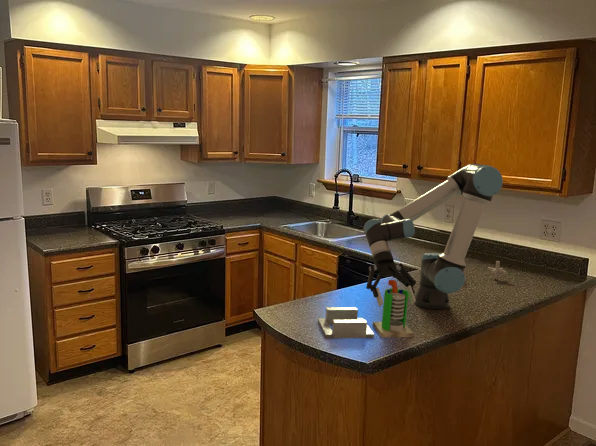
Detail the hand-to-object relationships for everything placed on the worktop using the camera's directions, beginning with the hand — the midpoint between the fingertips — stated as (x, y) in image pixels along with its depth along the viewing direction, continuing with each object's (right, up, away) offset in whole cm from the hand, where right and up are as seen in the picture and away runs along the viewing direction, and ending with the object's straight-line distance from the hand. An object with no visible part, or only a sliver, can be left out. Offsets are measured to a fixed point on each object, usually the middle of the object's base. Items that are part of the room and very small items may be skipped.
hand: (397, 303), depth 197 cm
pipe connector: (+68, 0, +82) cm, 107 cm away
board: (-1, -11, +4) cm, 12 cm away
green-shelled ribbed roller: (-1, -10, +4) cm, 11 cm away
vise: (-20, -10, +6) cm, 23 cm away
